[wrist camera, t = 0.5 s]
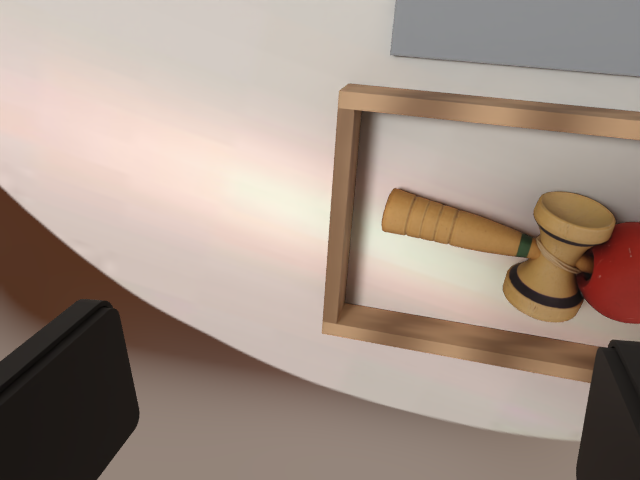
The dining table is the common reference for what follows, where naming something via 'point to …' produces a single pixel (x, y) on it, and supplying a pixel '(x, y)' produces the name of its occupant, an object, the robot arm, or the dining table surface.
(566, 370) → the wooden frame
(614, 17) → the mat
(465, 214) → the kendama
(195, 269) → the dining table surface
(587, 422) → the robot arm
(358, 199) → the dining table surface
